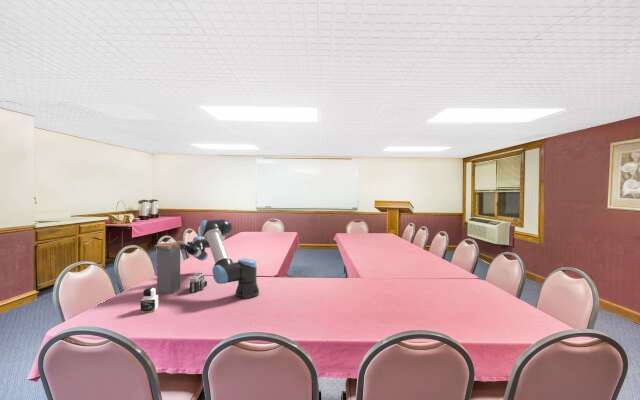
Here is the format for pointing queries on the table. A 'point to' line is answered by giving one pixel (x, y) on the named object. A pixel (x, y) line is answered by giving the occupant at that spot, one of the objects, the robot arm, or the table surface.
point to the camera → (197, 282)
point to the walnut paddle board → (168, 245)
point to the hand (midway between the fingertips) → (177, 240)
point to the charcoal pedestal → (168, 270)
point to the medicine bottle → (149, 300)
